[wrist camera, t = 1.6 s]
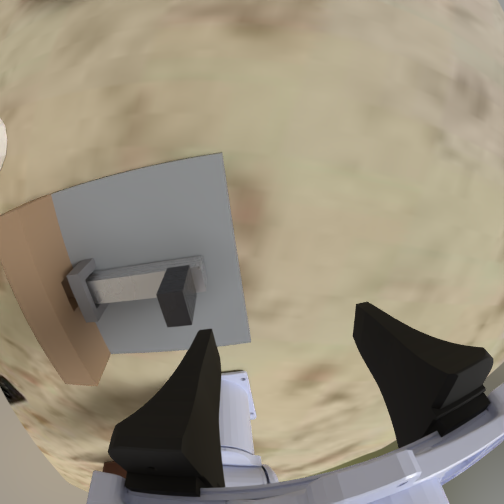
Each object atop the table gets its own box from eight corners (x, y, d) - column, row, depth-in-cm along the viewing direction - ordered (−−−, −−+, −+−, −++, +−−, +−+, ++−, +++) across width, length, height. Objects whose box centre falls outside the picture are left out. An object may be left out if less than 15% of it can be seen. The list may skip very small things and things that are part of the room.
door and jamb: (222, 152, 19) (219, 156, 14) (249, 331, 25) (255, 379, 20) (30, 201, 19) (-12, 221, 13) (85, 344, 25) (65, 383, 19)
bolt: (201, 252, 20) (194, 289, 15) (207, 281, 21) (203, 323, 16) (86, 270, 20) (56, 304, 15) (95, 295, 21) (70, 333, 16)
